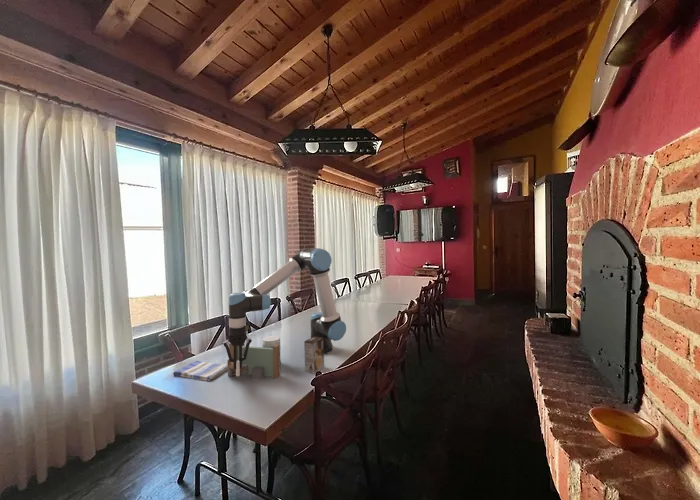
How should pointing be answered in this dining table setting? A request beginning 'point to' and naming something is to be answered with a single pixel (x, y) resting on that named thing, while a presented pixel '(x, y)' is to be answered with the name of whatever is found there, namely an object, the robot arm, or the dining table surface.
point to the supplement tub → (270, 341)
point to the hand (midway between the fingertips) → (237, 375)
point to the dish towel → (201, 370)
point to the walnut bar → (242, 370)
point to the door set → (259, 361)
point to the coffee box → (314, 354)
